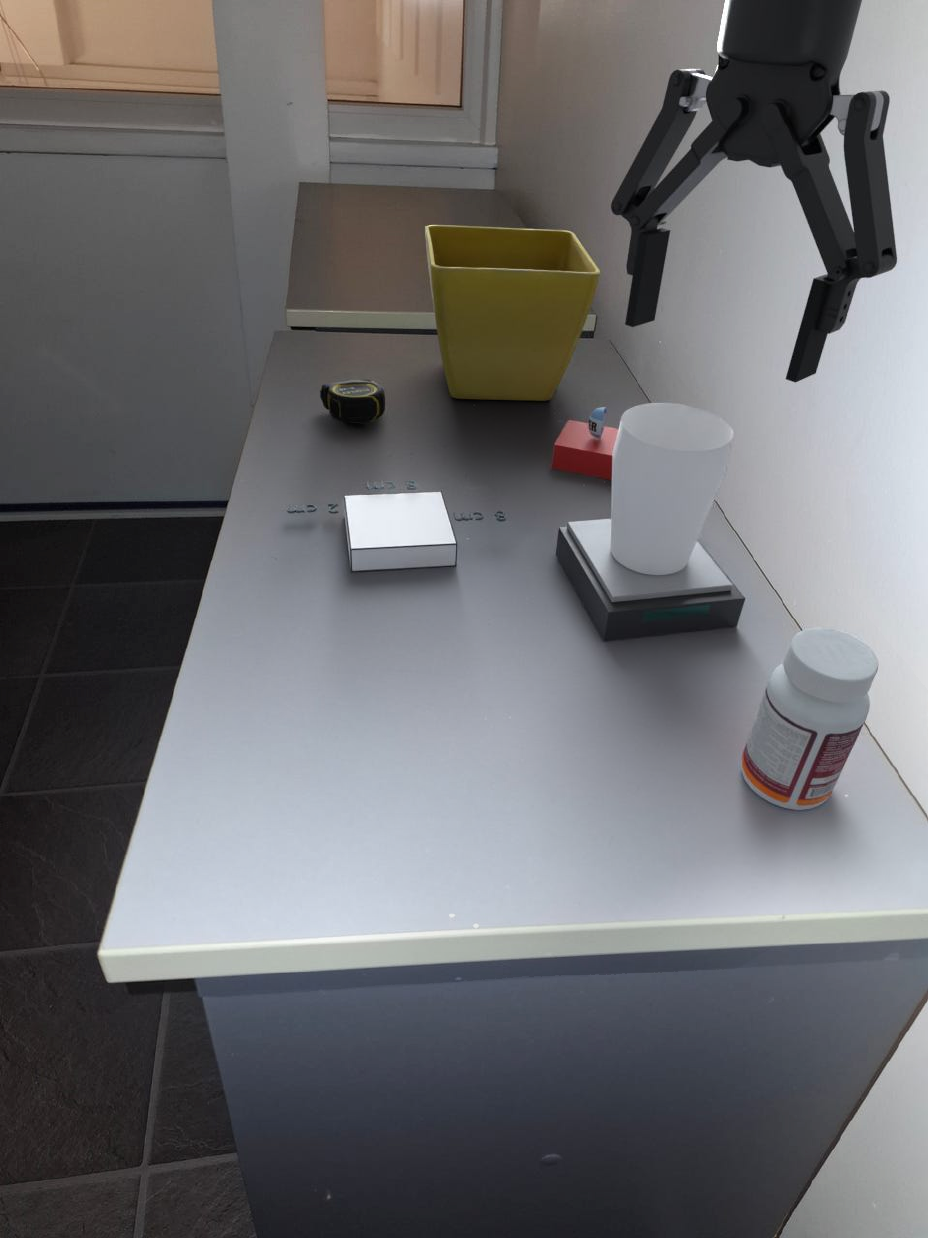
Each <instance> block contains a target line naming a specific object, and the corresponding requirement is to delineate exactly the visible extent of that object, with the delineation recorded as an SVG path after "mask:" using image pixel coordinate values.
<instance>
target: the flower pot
mask: <svg viewBox="0 0 928 1238" xmlns="http://www.w3.org/2000/svg"><path fill="white" fill-rule="evenodd" d="M424 235H425V247H426V260H427V268H428V277H429V284H430V291H431V298H432V299H431V300H432V304H433V305H432V306H433V311H434V318H435V325H436V326H435V327H436V334H437V341H438V345H439V352H440V357H441V361H442V362H441V363H442V368H443V371H444V376H445V380H446V384H447V387H448V391H449V395H450V396H451V397H452V398H454V399H459V400H491V401H492V400H494V401H495V400H496V401H497V400H500V401H527V402H528V401H534V402H546V401H549V400H552V397H553V395H554V394H555V392H556V391H557V388H558V387H559V384H560V382H561V380H562V379H563V376H564V374H565V372H566V370H567V368H568V366H569V364H570V361H571V360H572V357H573V354H574V353H575V349H576V347H577V345H578V343H579V340H580V338H581V335H582V333H583V329H584V327H585V324H586V322H587V318H588V315H589V312H590V309H591V306H592V304H593V301H594V297H595V294H596V291H597V287H598V283H599V279H600V275H601V269H600V268H599V267H598V266H597V265H596V263H595V261H594V260H593V259H592V257H591V255H589V253H588V252H587V250H586V249H585V247H584V245H583V244H582V243H581V242H580V240H579V239H578V237H577V235H576V234H575V233H574V232H573V231H570V230H563V229H540V228H539V229H538V228H518V227H517V228H516V227H515V228H514V227H497V226H494V227H493V226H473V225H449V224H448V225H447V224H445V225H444V224H429V225H426V226H424Z"/></svg>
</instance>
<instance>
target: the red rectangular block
mask: <svg viewBox="0 0 928 1238" xmlns="http://www.w3.org/2000/svg"><path fill="white" fill-rule="evenodd" d="M607 411H608V410H607V407H605V406H602V407H597V408H594V409H593V410H592V412H591V413H590V415H589V418H588V422H583V421H578V420H572V419H568V420H567V422H566V423H565V424H564V427H563V428H562V430H561V431H560V434H559V435H558V437H557V438H556V441H555V442H554V444H553V452H552V459H551V469H553V470H554V469H555V470H559V471H564V472H569V473H575V474H579V475H585V476H590V477H595V478H601V479H605V480H610V481H612V456H613V449H614V445H615V442H616V438H617V434H618V430H619V428H615V427H609V426H606V421H607Z"/></svg>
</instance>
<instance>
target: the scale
mask: <svg viewBox="0 0 928 1238" xmlns="http://www.w3.org/2000/svg"><path fill="white" fill-rule="evenodd" d="M566 524H567V525H566V526H559V527H558V531H557V538H556V539H557V540H556V546H555V556H556V558H557V561H558V562H559V564H560V566H561V567H562V569H563V571H564V573H565V575H566V577H567V578H568V580H569V582H570V584H571V585H572V587H573V590H574V592H575V593H576V595H577V597H578V598H579V600H580V602H581V604H582V606H583V607H584V609H585V611H586V612H587V614H588V616H589V618H590V620H591V622H592V624H593V626H594V627H595V629H596V631H597V633H598V635H599V637H600V638H601V640H602V642H611V641H620V640H629V639H638V638H646V637H655V636H663V635H664V636H665V635H673V634H675V635H676V634H682V633H683V634H684V633H693V632H700V631H701V632H702V631H709V630H711V631H712V630H719V629H720V630H721V629H728V628H736V627H738V624H739V621H740V617H741V614H742V611H743V608H744V605H745V602H746V597H745V596H744V595H743V593H742V592H741V591H740V590H739V588H738V587H737V586H736V584H735V583H734V582H733V581H732V580H731V578H730V577H729V576H728V575H727V573H726V572H725V571H724V570H723V568H722V567H721V566H720V565H719V563H718V562H717V560H715V559H714V557H713V556H712V555H711V554H710V552H709V551H708V550H707V549H706V547H705V546H704V545H703V544H702V542H701V541H700V540H699V539H698V540H697V542H696V544H695V547H694V549H693V551H692V553H691V556H690V558H689V560H688V563H687V565H686V566H685V567H684V568H683V569H682V570H680V571H678V572H675V573H672V574H667V575H648V574H643V573H639V572H636V571H633V570H631V569H628V568H627V567H625V566H623V565H622V564H620V563H619V562H618V561H617V560H616V559H615V558H614V557H613V555H612V553H611V518H603V519H602V518H601V519H589V520H577V521H568V522H567V523H566Z"/></svg>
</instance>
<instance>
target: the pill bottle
mask: <svg viewBox="0 0 928 1238" xmlns="http://www.w3.org/2000/svg"><path fill="white" fill-rule="evenodd" d="M878 670H879V660H878V657H877V655H876V654H875V652H874V650H873V649H871V647H870V646H869V645H868V644H867V643H865V642H864V641H862V640H861V639H859V638H858V637H856V636H854V635H852V634H850V633H849V632H845V631H842V630H839V629H835V628H830V627H820V626H819V627H818V626H817V627H808V628H805V629H803V630H800V631H798V632H797V633H796V634H794V636H793V637H792V638H791V641H790V643H789V646H788V649H787V651H786V653H785V655H784V659H783V662H782V663H781V664H779V665H778V666H777V667H775V668H774V670H773V671H772V673H771V674H770V676H769V679H768V681H767V683H766V686H765V688H764V692H763V694H762V697H761V700H760V703H759V705H758V708H757V711H756V714H755V717H754V719H753V723H752V726H751V729H750V731H749V734H748V737H747V740H746V743H745V746H744V748H743V751H742V754H741V759H740V771H741V774H742V777H743V779H744V781H745V783H746V784H747V785H748V787H749V788H750V789H751V790H752V791H753V792H754V793H755V794H757V795H758V796H759V797H760V798H762V799H764V800H765V801H767V802H768V803H771V804H773V805H775V806H778V807H781V808H784V809H789V810H796V811H804V810H810V809H811V810H812V809H814V808H816V807H819V806H820V805H822V804H824V803H825V802H826V801H827V800H828V799H829V798H830V797H831V794H832V793H833V791H834V790H835V786H836V785H837V783H838V780H839V778H840V776H841V774H842V771H843V770H844V767H845V765H846V763H847V761H848V758H849V756H850V754H851V752H852V750H853V748H854V746H855V744H856V742H857V740H858V738H859V736H860V733H861V731H862V729H863V727H864V724H865V723H866V721H867V718H868V715H869V711H870V707H871V703H870V696H869V692H870V689H871V687H872V684H873V682H874V679H875V678H876V675H877V673H878Z"/></svg>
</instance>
